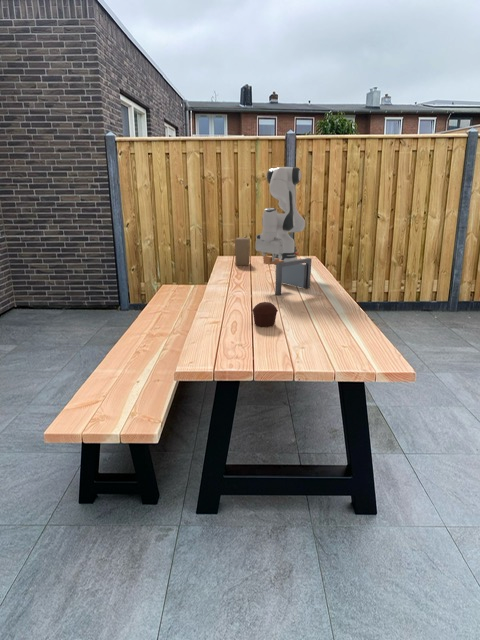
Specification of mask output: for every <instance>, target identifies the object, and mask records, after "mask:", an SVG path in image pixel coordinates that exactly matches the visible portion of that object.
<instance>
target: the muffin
mask: <svg viewBox="0 0 480 640" xmlns="http://www.w3.org/2000/svg"><path fill="white" fill-rule="evenodd" d="M251 311H252V315H253V322H254V325H255V326H256V327H258V328H272V327H274V326H275V324H276V319H277V313H278V311H279V310H278V308H277V307H276V305H275V304H273V303H272V302H269V301H263V302H262V301H261V302H259V303H258V304H256V305H254V307H253V309H252V310H251Z"/></svg>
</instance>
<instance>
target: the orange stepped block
mask: <svg viewBox="0 0 480 640" xmlns="http://www.w3.org/2000/svg"><path fill="white" fill-rule="evenodd" d="M271 258H272V255H271V256H270V255H266V256H265V257H264V259H263V264H264V265H270V266H271V265H276V263H281V262H284V260H279V259H278V258H275V261H271Z"/></svg>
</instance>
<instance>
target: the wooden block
mask: <svg viewBox="0 0 480 640" xmlns="http://www.w3.org/2000/svg"><path fill="white" fill-rule="evenodd" d="M234 241H235V243H234V244H235V247H234V248H235V252H234V253H235V257H234V258H235V260H234V261H235V263H234V264H235V266H236V267H238V266H239V267H248V266H249V265H250V261H251V259H250V258H251V257H250V256H251V255H250V251H251V249H250V246H251V245H250V244H251V238H249V237H237V238H235V240H234Z"/></svg>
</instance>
